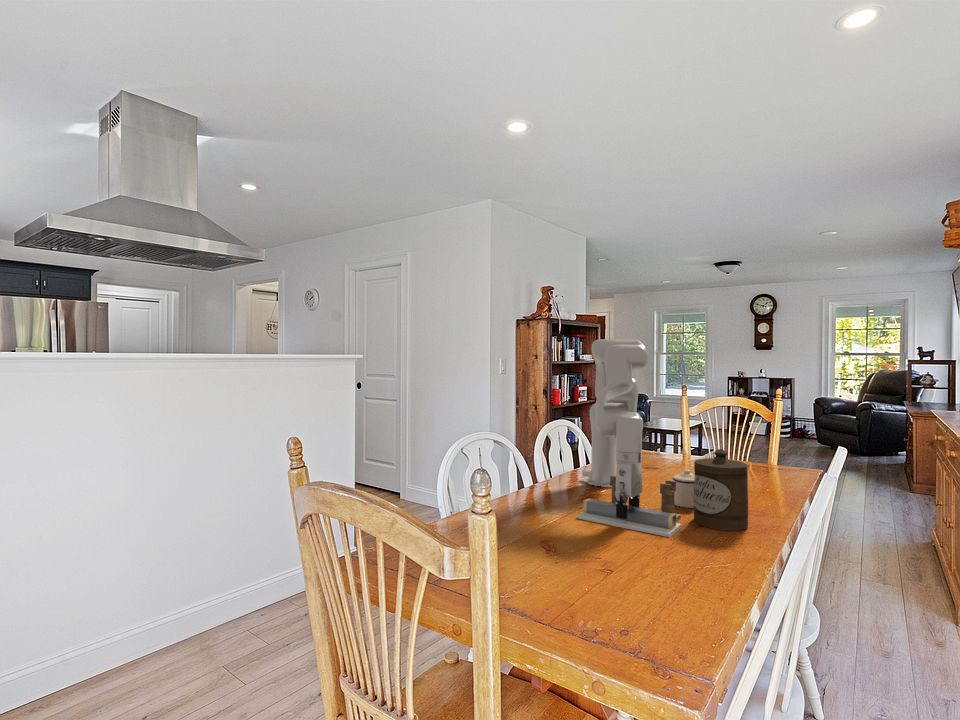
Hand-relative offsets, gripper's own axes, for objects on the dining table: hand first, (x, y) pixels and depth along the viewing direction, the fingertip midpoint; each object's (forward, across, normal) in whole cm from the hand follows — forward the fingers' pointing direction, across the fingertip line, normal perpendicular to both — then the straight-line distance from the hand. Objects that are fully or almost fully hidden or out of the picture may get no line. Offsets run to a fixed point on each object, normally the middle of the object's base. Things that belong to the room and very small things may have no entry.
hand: (627, 514), depth 161 cm
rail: (+1, 0, 0) cm, 2 cm away
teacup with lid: (+3, +33, -8) cm, 34 cm away
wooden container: (+3, +17, -22) cm, 28 cm away
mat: (+2, 0, 0) cm, 2 cm away
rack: (+2, +12, 0) cm, 12 cm away
